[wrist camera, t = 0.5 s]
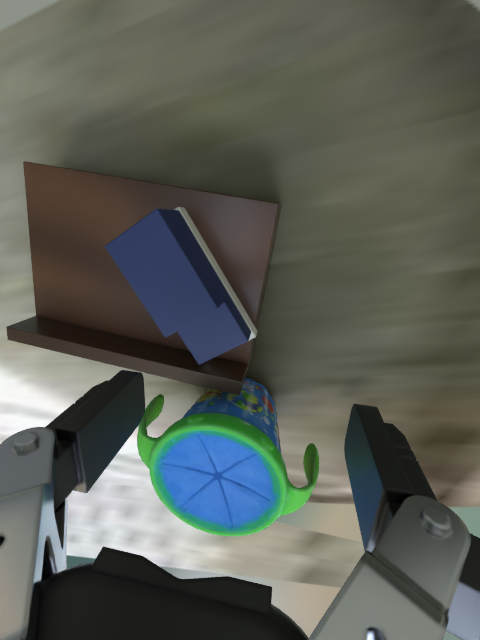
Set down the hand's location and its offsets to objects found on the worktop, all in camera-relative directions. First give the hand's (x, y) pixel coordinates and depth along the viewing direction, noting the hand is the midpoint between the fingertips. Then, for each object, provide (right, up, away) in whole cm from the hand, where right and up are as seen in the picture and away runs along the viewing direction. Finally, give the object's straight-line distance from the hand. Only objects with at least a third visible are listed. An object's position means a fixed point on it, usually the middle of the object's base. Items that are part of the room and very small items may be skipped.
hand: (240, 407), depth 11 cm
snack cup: (0, -6, +20) cm, 21 cm away
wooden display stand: (-7, +8, +17) cm, 20 cm away
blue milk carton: (-3, +6, +12) cm, 14 cm away
